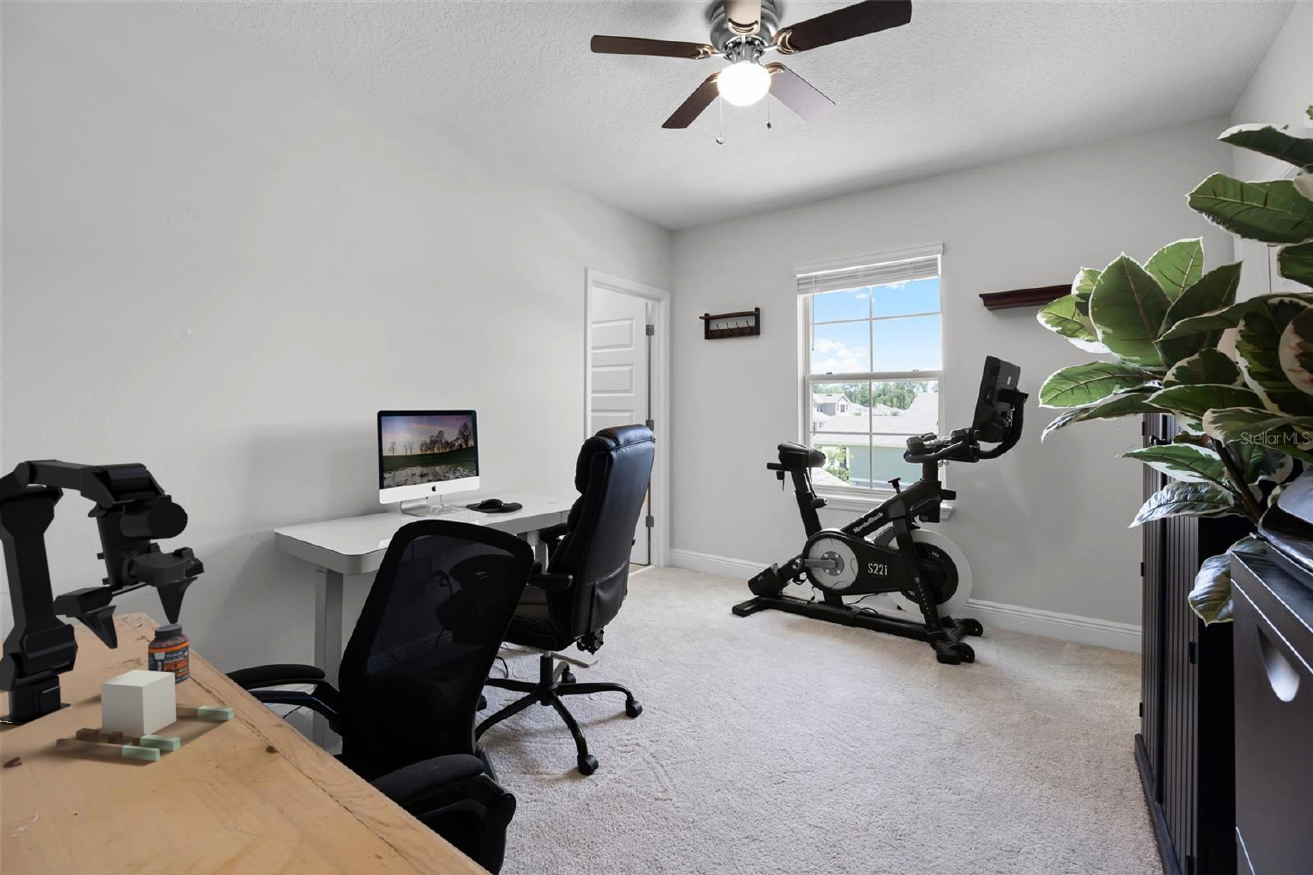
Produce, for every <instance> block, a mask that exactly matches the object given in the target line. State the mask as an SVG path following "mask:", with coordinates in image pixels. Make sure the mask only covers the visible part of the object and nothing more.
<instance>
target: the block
mask: <svg viewBox="0 0 1313 875" xmlns="http://www.w3.org/2000/svg"><path fill="white" fill-rule="evenodd" d="M176 699H177V698H176V684H175V673H171V672H158V671H148V670H143V669H142V670H141V669H133V670H130V671H127V672H126V673H123V674H120V675H118V676H115V677H113V678H110V679H108V680H104V681H102V682H100V703H101V706H100V707H101V729H102V733H106V734H110V733H112V732H114V731H119V732H123V735H126V736H135V735H137V734H149V735H150V734H152V733H154V732H156V731H158V730H159V729H161V728H163V727H165V726H167V725H169V724H171V723H173V722H175V721H176V703H177V702H176Z"/></svg>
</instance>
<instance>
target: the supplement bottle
mask: <svg viewBox="0 0 1313 875" xmlns="http://www.w3.org/2000/svg"><path fill="white" fill-rule="evenodd" d="M182 632H183V625H182V624H180V623H176V624H170V623H169V624H166V625H165V624H164V625H162V626H158V627H156V628H154V638H153V640H150V642H149V643H148V646H147V659H148V661H147V663H148V664H147V667H148V668H147V671H158V672H171V673H175V685H178V684H180V683H183V682H185V681H186V680H188V679H189V677H190V646H189V641H190V640H189V637H188V636H187V635H186V634H183V633H182Z"/></svg>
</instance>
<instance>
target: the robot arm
mask: <svg viewBox="0 0 1313 875" xmlns="http://www.w3.org/2000/svg"><path fill="white" fill-rule="evenodd" d="M63 489H66V490H74V491H77V492H79V495H80V496H81V497H82V498H85V499H87V500H90V501H91V502H92V501H93V502H95V505H94V507H93V508H91V510H89V511H88V513H87V518H90V519H93V518H95V519H96V524H97V528H98V534H99V538H100V544H101V549H102V551H101V552H96V557H97V560H104V565H105V568H106V573H107V576H106V577H103V578H101V582H102V586H92V587H91V586H90V587H82V588H78V589H76V590H72V591H68V592H66V593H62V594H59V595H56V597H55V598H54V596H53V588H52V581H51V575H50V573H51V572H50V567H49V560H48V555H47V554H48V553H47V548H46V541H45V533H46V531H47V530H48V529H49V527H50V526H51V524H52V522H53V520H54V519H55V507H56V505H57V504H58V503H59V502H60V500H61V499H62V498H63V496H64V495H65V493H64V491H63ZM165 492H166V490H164V489H163V487H162V486H161V485H160V484H159V483H158V482H157V480H156V478H155V477H154V475H153V474H152V473H151V472H150V470H148V469H147V466H146V465H144V464H143V463H141V462H132V463H131V462H130V463H129V462H128V463H117V464H98V465H96V464H95V465H93V464H92V465H91V464H85V463H75V462H69V461H63V460H58V459H54V458H53V459H51V458H50V459H33V460H24V461H23V462H18V464H17V465H16V466H15V467H14V469H13V471H10V472H9V473H7V474H6V475H3V476H1V477H0V541H1V543H2V548H3V549H2V550H3V557H4V563H5V569H6V578H7V583H8V584H7V585H8V589H9V590H8V592H9V597H10V604H11V610H12V617H13V627H12V628H11V630H10V631H9V634H8V635H7V637H6V639H5V640H4V642H3V644H2V658H1V659H0V691H5V692H8V696H7V697H8V714H7V715H4V716H1V717H0V720H1V721H8V722H12V723H17V724H16V725H20V724H22V725H23V726H24V725H26V724H27V725H28V724H30V723H31V722H34V721H36V720H39V719H41V718H44V717H46V716H49V715H51V714H54V713H56V712H58V711H61V710H63V709H66V708H67V707H71V706H72V704H71V703H66V702H65V703H64V702H62V695H61V694H62V693H61V690H62V689H61V686H60V675H62V674H65V673H69V672H73V671H74V669H75V668H74V667H75V663H76V660H77V654H78V649H79V645H78V643H77V640H76V636H75V635H76V634H75V626H74V625H73V624H72V623H65V622H63V620H61V619H60V618H59V617H57V616H65V617H66V618H67V619H69V618H75V619H76V620H78V621H79V622H80V623H82V625H84V626H85V627H87V628H88V629H89V630H90V631H91V632H92V633H93V634H94V635H95V636H96V637H97V638H98V639H99V640H100V641H101V642H102V643H104V645H105V646H106V647H108V649H110V650H114V649H115V650H116V649H117V648H118V646H119V644H118V636H117V631H116V626H115V623H114V618H113V615H114V613H115V610H116V608H117V605H116V604H115V605H110V604H111V602H112V601H113V599H114V597H117V596H120V595H123V594H127V593H129V592H132V591H135V590H138V589H141V588H144V587H147V586H150V587H152V588H156V590H157V594H158V597H159V599H160V603H161V605H162V608H163V611H164V614H165V616H166V619H167V620H168V623H169V625H170V624H178V621H179V618H180V617H179V616H180V613H181V609H182V606H183V605H182V604H183V601H184V597H185V594H186V591H187V589H188V588H189V587H190V585H191V584H192V583H193V582H195V581H197V580H198V578H199V576H197V575H200V574H204V573H205V567H204V563H203V561H201V560H200V559H199V558H198V557H196V556H195V552H194V550H193V548H191V547H189V546H183V547H179V548H177V549H174V550H173V551H169V552H166V553H164V552H162V550H161V547H160V545H159V544H158V541H157V540H168V539H172V538H176V537H178V536H179V535H180V534H182V533H183V532H184V530H186V527H187V525H188V521H189V517H188V513H187V512H186V510H185V509H184V508H183V506H182V505H180V504H179V503H177V502H174V501H173V500H172V499H173V498H172V494H166V493H165ZM155 540H156V541H157V542H152V541H155ZM106 585H108V586H106Z"/></svg>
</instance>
